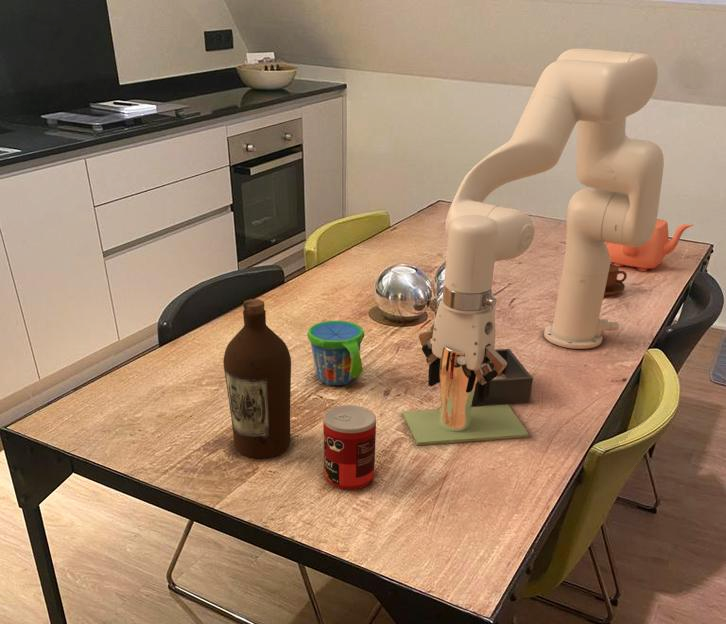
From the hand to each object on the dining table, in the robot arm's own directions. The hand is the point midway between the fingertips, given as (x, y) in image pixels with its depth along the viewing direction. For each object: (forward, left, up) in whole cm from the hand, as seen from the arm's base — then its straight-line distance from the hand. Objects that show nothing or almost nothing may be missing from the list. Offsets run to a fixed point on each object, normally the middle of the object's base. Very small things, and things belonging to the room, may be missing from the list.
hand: (457, 392), depth 132 cm
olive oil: (+34, +2, -7) cm, 35 cm away
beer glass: (0, 0, -6) cm, 6 cm away
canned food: (+21, +14, -7) cm, 26 cm away
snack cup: (+18, -21, -7) cm, 29 cm away
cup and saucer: (-56, -62, -7) cm, 84 cm away
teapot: (-75, -81, -7) cm, 111 cm away
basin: (-10, -13, -7) cm, 18 cm away
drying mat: (-2, 0, -7) cm, 7 cm away
